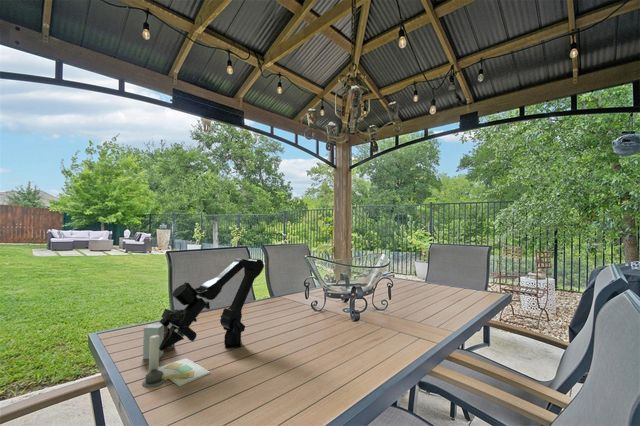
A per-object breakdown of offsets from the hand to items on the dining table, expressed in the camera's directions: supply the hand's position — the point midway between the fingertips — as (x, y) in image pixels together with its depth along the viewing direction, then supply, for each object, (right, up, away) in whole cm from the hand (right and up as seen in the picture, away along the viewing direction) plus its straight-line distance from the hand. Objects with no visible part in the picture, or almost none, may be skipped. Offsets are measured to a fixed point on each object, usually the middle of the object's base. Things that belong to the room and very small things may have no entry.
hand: (160, 350), depth 106 cm
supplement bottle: (-7, -8, +18) cm, 22 cm away
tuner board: (+6, -7, -3) cm, 10 cm away
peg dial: (+4, -7, -5) cm, 9 cm away
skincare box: (-9, -8, +11) cm, 16 cm away
